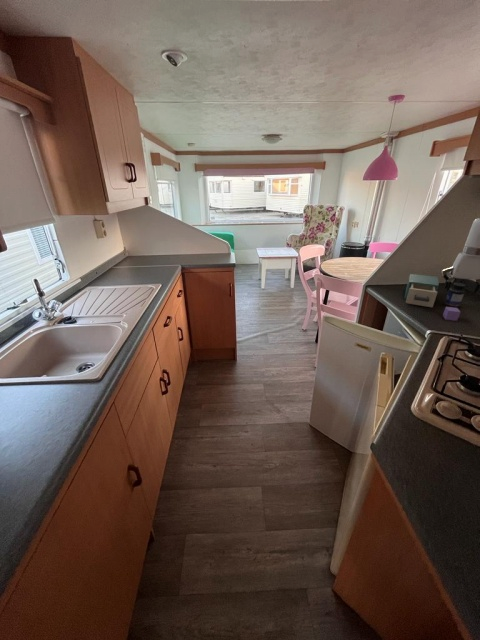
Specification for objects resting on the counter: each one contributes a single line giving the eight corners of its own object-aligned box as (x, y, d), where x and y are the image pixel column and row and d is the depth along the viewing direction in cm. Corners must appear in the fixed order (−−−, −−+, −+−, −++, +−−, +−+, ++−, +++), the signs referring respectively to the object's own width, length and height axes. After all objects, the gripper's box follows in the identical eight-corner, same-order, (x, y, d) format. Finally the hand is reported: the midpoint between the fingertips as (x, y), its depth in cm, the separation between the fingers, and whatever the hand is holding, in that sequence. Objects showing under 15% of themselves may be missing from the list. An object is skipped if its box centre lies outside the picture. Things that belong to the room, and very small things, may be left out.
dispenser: (432, 303, 135) (438, 285, 130) (404, 298, 140) (409, 281, 136) (432, 293, 146) (437, 276, 141) (405, 289, 152) (410, 273, 147)
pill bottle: (443, 302, 135) (450, 281, 130) (458, 304, 133) (466, 283, 127) (444, 306, 131) (452, 285, 126) (459, 308, 128) (468, 287, 123)
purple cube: (454, 316, 121) (457, 307, 119) (457, 320, 117) (460, 311, 115) (442, 315, 122) (445, 306, 120) (445, 319, 119) (448, 310, 117)
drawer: (432, 311, 124) (438, 295, 121) (405, 306, 130) (409, 291, 126) (431, 297, 138) (436, 283, 135) (406, 294, 144) (410, 280, 140)
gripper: (497, 250, 106) (480, 290, 114) (446, 247, 112) (433, 286, 120) (506, 254, 100) (488, 296, 108) (451, 251, 106) (438, 291, 114)
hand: (459, 291), depth 114 cm, fingers open, 9 cm apart
